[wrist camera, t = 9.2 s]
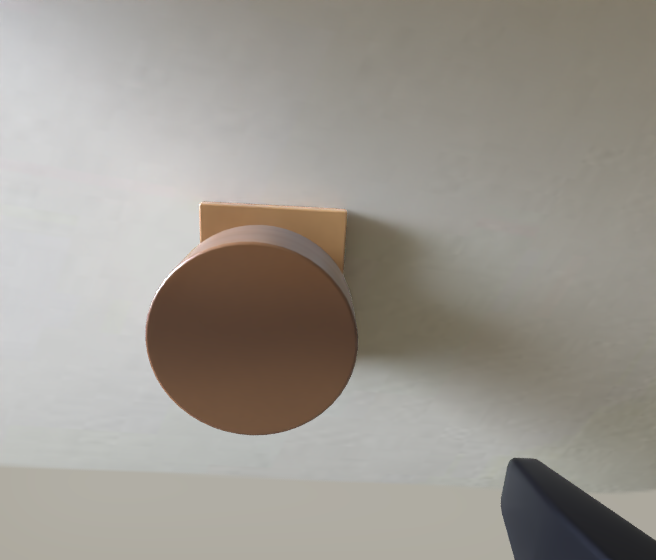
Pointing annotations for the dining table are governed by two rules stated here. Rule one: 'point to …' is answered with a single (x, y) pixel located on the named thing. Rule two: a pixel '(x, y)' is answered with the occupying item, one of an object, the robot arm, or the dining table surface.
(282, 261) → the mushroom
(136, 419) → the dining table surface
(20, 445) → the dining table surface
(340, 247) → the plate
